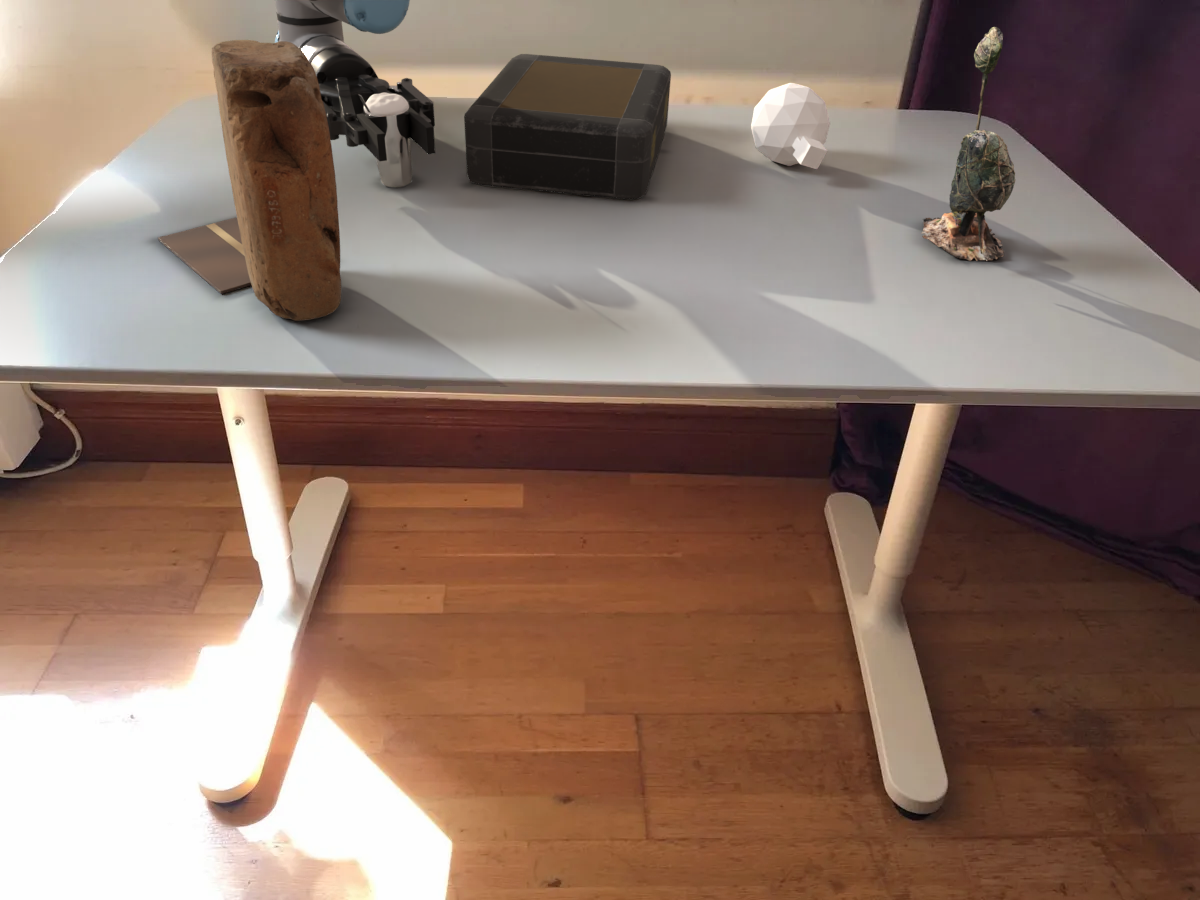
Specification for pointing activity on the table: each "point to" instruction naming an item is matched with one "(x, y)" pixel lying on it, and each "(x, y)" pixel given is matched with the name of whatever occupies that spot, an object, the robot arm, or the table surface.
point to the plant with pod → (976, 179)
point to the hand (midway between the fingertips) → (406, 143)
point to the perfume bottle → (791, 126)
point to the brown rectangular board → (213, 254)
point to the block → (281, 175)
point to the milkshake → (392, 136)
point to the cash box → (569, 126)
